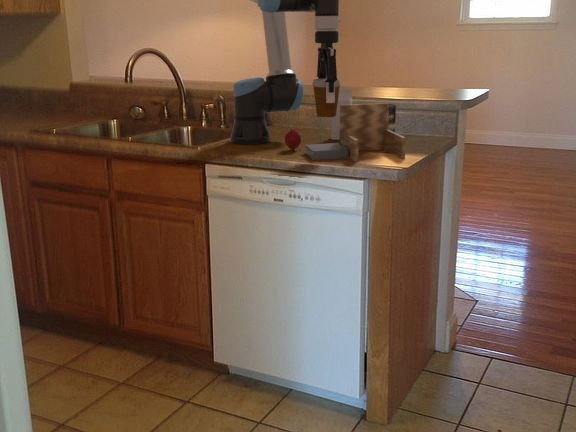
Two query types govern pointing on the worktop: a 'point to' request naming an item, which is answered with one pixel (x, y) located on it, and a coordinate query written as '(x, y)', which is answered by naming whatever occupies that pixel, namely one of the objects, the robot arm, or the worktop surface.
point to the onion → (292, 139)
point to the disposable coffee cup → (320, 98)
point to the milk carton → (343, 99)
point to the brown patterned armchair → (368, 130)
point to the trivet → (326, 151)
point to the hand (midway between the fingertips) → (326, 100)
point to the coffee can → (392, 117)
